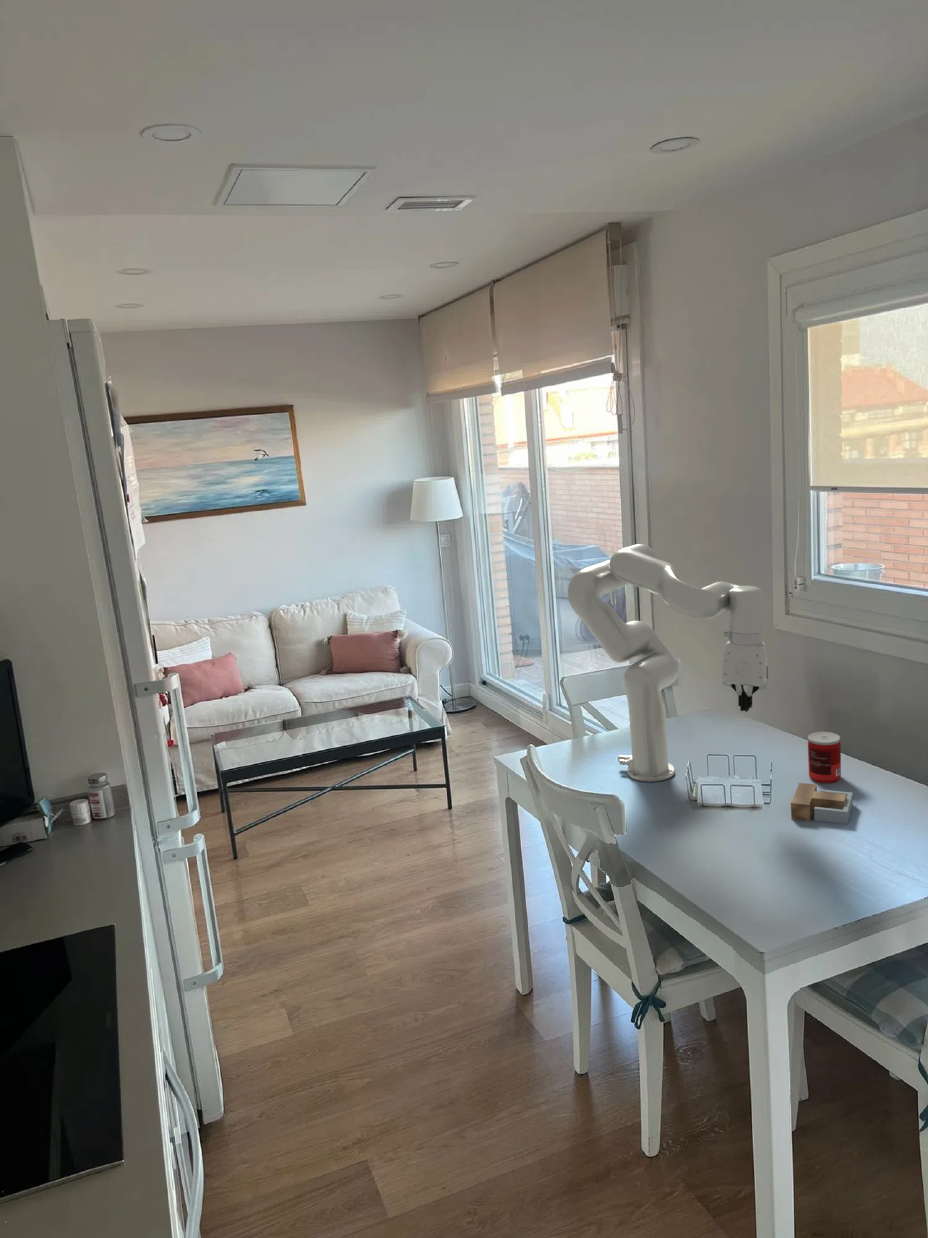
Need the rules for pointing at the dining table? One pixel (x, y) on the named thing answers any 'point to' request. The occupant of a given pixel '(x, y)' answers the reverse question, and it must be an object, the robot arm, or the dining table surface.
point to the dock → (835, 810)
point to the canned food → (824, 757)
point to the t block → (813, 801)
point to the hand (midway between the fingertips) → (745, 709)
